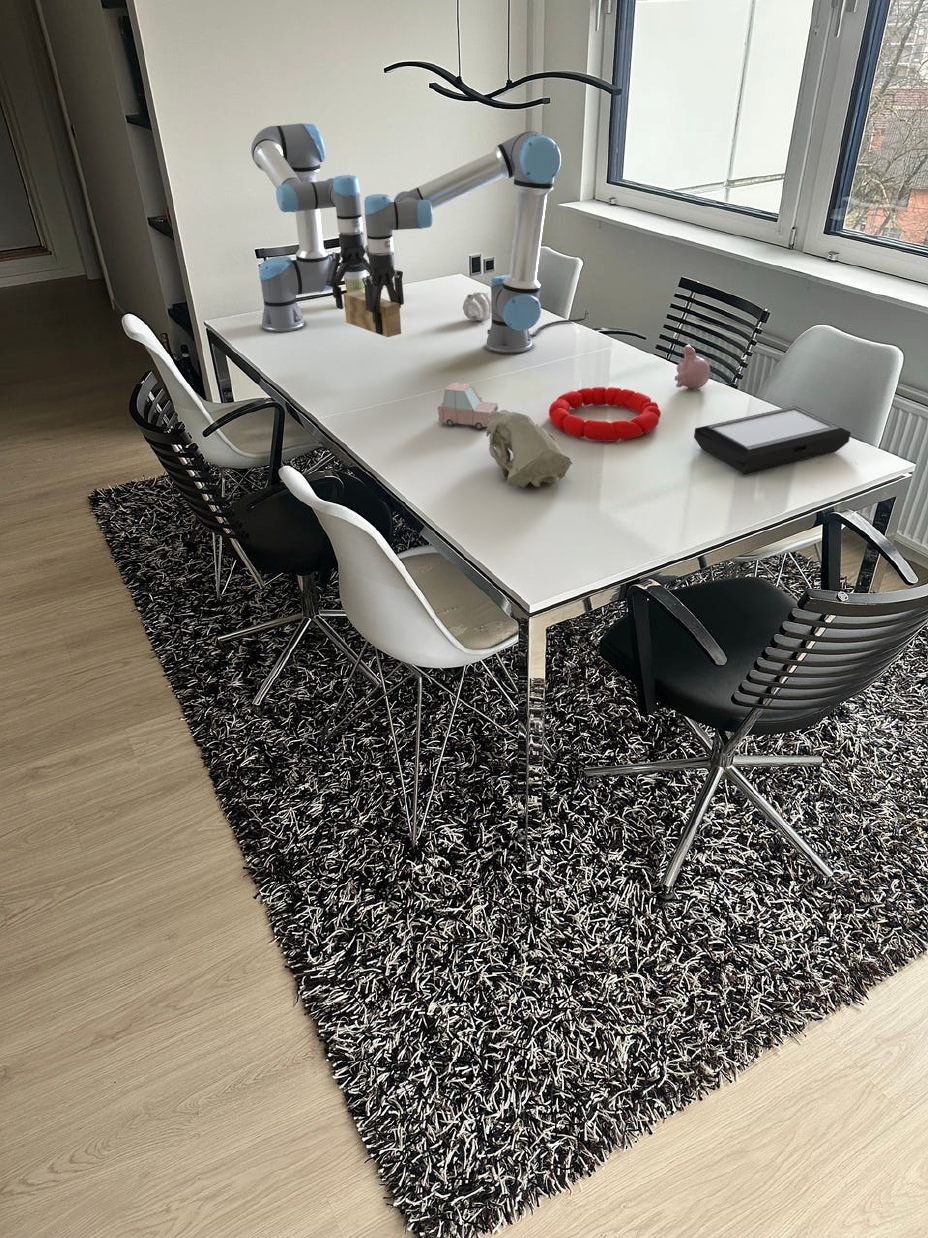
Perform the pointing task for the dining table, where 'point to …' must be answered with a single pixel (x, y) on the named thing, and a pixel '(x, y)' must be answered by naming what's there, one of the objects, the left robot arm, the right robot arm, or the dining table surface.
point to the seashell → (477, 306)
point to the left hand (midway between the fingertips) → (357, 304)
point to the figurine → (692, 370)
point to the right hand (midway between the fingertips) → (387, 331)
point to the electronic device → (771, 439)
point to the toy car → (465, 406)
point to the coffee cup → (355, 278)
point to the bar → (364, 318)
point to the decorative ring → (604, 428)
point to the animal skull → (525, 450)
